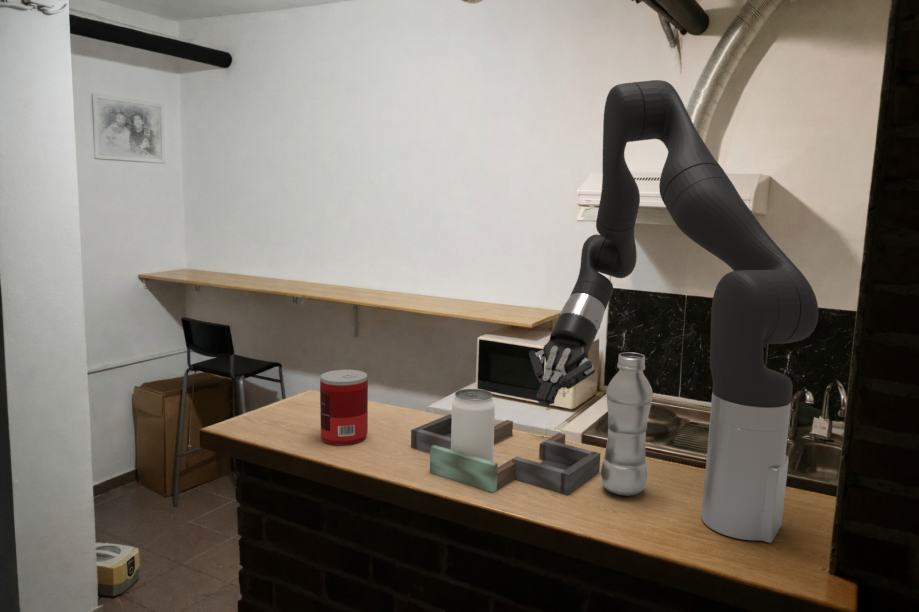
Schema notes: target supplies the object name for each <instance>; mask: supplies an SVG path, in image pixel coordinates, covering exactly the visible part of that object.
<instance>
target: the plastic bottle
mask: <svg viewBox="0 0 919 612" xmlns="http://www.w3.org/2000/svg"><path fill="white" fill-rule="evenodd" d="M616 365H617V367H616V368H617V369H618V372H616V374H615V375H614V376H612V379H611V380H610V382H608V385H607V387H606V403H607V404H606V405H607V407H606V408H607V438H606V439H607V440H606V447H605V454H604V457H603V460H602V464H601V465H602V466H601V469H600V475H601V483H602V484H603V486H604V488H605V490H607V491H608V492H609V493H613V494H615V495H619V496H635V495H636V496H637V495H639V494H640V493H641V492H642V491H643V490H644V489H645V487H646V484H647V481H648V466H647V465H648V464H647V461H646V437H647V436H646V435H647V432H646V431H647V429H648V420H649V417H650V416H649V415H650V410H651V406H652V401H653V395H654V393H653V388H652V386H651V384H650V381H649V380H648V378H647V377H646V376H645V373H644V371H646V356H645V355H644V354H642V353H639V352H630V351H629V352H621V353H619V354H618V362H617V364H616Z"/></svg>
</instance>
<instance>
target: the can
mask: <svg viewBox="0 0 919 612" xmlns="http://www.w3.org/2000/svg"><path fill="white" fill-rule="evenodd" d="M454 395H455V397H454V398H453V400H452V403H451V415H452V424H451V450H453V451H457V452H460V453H463V454H467V455H470V456H474V457H477V458H480V459H484V460H487V461H491V462H494V448H495V447H494V446H495V444H494V426H495V419H496V417H495V415H496V414H495V413H496V404H495V401H494V400H493V393H492V392H491V391H489V390H487V389H486V390H485V389H483V388H482V389H480V388H463V389H460V390H457V391H455V392H454Z"/></svg>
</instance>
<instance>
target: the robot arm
mask: <svg viewBox="0 0 919 612" xmlns="http://www.w3.org/2000/svg"><path fill="white" fill-rule="evenodd" d="M602 126H603V128H602V129H603V130H602V181H601V182H602V183H601V192H600V199H599V205H598V211H597V214H596V221H595V222H596V223H595V228H596V231H597V233H598V234H596V233H595V234H592V235H590V236H589V237H588V238H586V240H585V241H584V242H583V245H582V249H581V253H580V254H581V256H580V267H579V273H578V276H577V279H576V282H575V284H574V287H573V288H572V290H571V293H570V295H569V297H568V299H567V300H566V302H565V303H564V306H563V307H562V309H561V311H560V314H559V316H558V317H557V320H556V322H555V323H554V324H555V325H554V327H553V328H552V331H551V333H550V337H549V340H548V342H547V343H545V344H544V345H543V348H542V349H541V350H538V351H537V352H536V351H535V350H530V351H529V353H528V356H529V360H530V362H531V366H532V367H533V368H532V369H533V372H534V375H535V376H536V378H537V380H538V381H539V383H540V387H539V388H538V391H537V393H536V399H537V402H538V403H539V405H540V406H543V407H546V408H547V407H550V406H551V405H552V404H553V403H554V402H555V399H556V397H557V395H558V393H559V390H561V389H563V388H565V389H567V390H569V389H571V388H573V387H575V386H577V385H578V384H579V383H581V382H582V381H584V380H586V379H587V378H588V377H590V376H591V375H593V374H595V372H596V369H595V367H594V364H593V363H592V361H591V360H589V352H590V351H591V349H592V346H593V344H594V341H595V338H596V337H597V334H598V331H599V330H600V328H601V325H602V322H603V318H604V315H605V312H606V310H607V307H608V305H609V303H610V301H611V297H612V295H613V292H614V285H613V283H612V281H611V280H610V278H607V277H606V276H605V275H607V276H609V277H612V278H616V279H625V278H627V277H629V276H630V275H631V274H632V273H633V271H634V270H635V267H636V264H637V257H638V256H637V255H638V254H637V245H636V244H637V243H636V238H635V226H636V221H637V217H638V213H639V208H640V201H641V196H640V190H639V187H638V184H637V181H636V180H635V178H634V176H633V174H632V172H631V171H630V169H629V167H628V165H627V162H626V159H625V158H626V157H625V151H626V150H625V149H626V146H627V143H632V142H639V141H640V142H641V141H648V140H658V141H660V142H661V143H663V145H664V146H665V148H666V150H667V156H666V159H665V162H664V165H663V168H662V171H661V174H660V180H659V185H658V187H659V195H660V198H661V201H662V202H663V204H664V205H665V208H666V209H667V211H668V213H669V216H670V217H671V219H672V220H673V222H674V223H675V225H676V226H677V228H678V229H679V230H680V231H681V232H682V233H683V234H684V235H685V236H686V237H688V239H690V240H692V241H693V242H694V243H695V244H697V245H698V246H700V247H701V248H702V249H704V250H705V251H707V252H708V253H710V254H712V255H713V256H714V257H716V258H717V259H720V260H721V261H722V262H723V263H725V264H726V265H727V266H729V268H730V269H732V271H730V272H727V273H725V274H724V275H723V276H721V279H720V280H719V281H718V283H717V285H716V287H715V290H714V292H713V296H712V303H711V312H710V313H711V314H710V348H709V349H710V350H709V368H710V372H711V377H712V393H711V405H710V416H709V427H708V438H707V439H708V440H707V447H706V448H707V449H706V462H705V472H704V473H705V474H704V484H703V485H704V486H703V497H702V503H701V505H702V509H701V520H702V521H703V522H702V523H704V524H705V525H706V526H707V527H708V528H710V529H711V530H713V531H714V532H716V533H719V534H720V535H724V536H727V537H730V538H733V539H734V538H735V539H739V540H744V541H746V540H747V541H760V542H761V541H762V542H765V543H769V544H771V543H773V541H774V539H775V538H776V536H777V534H778V532H779V531H780V529H781V528H782V526H783V525H782V524H783V515H784V514H783V513H784V507H785V499H786V497H785V496H786V490H787V489H786V488H787V480H788V468H789V456H788V455H786V454H787V445H788V436H789V434H788V433H789V427H790V426H789V425H790V418H791V406H792V399H793V390H794V389H793V381H792V380H791V378H790V377H789V376H787V375H786V374H784V373H782V372H779V371H777V370H774V369H771V368H768V367H767V366H766V365H765V362H764V345H777V344H778V345H782V344H790V343H796V342H800V341H803V340H805V339H806V338H809V336H811V334H813V332H814V331H815V330H816V326H817V324H818V320H819V304H818V300H817V297H816V294H815V292H814V290H813V287H812V285H811V283H810V281H808V279H807V278H806V277H805V275H804V273H802V271H801V270H800V268H798V267H797V266H796V264H795V263H794V262H793V261H792V260H791V259H790V257H788V255H787V254H786V253H785V252H784V251H783V250H782V249H781V248H780V246H779V245H778V244H777V243H776V242H775V241H774V240H773V239H772V237H771V236H770V235H769V234H768V233H767V231H766V230H765V229H764V227H763V226H762V224H761V223H760V222H759V220H758V219H757V217H756V216H755V215H754V214H753V212H752V211H751V210H750V208H749V207H748V205H747V204H746V203H745V201H744V199H743V198H742V197H741V195H740V194H739V192H738V190H737V189H736V187H735V185H734V183H733V182H732V181H731V179H730V177H729V175H727V173H726V172H725V171H724V169H723V168H722V166H721V165H720V164H719V163H718V161H717V160H716V158H715V157H714V155H713V153H711V151H710V149H709V148H708V147H707V145H706V143H705V142H704V140H703V138H702V136H701V135H700V133H699V132H698V130H697V128H696V127H695V124H694V123H693V121H692V119H691V116H690V114H689V113H688V111H687V108H686V106H685V104H684V102H683V100H682V98H681V96H680V94H679V93H678V91H677V90H676V89H675V87H674V86H673V85H672V84H671V83H670V82H668V81H666V80H661V79H653V80H643V81H634V82H626V83H624V82H623V83H619V84H616V85H614V86H612V87H611V89H610V90H609V91H608V94H607V96H606V99H605V104H604V110H603V125H602ZM603 274H604V275H603ZM544 359H545V362H546V364H545V370H543V366H542V364H543V363H544Z"/></svg>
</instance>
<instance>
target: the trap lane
mask: <svg viewBox="0 0 919 612" xmlns="http://www.w3.org/2000/svg"><path fill="white" fill-rule="evenodd" d="M451 424H452V414H450V413H449V414H447V415H444V416H442V417H439V418H437V419H434V420H432V421H430V422H427V423H424V424H422V425H420V426H417V427H415V428H413V429H412V428H411V431H410V448H412V449H415V450H420V451H423V452H425V453H427V454H429V473H431V474H434V475H436V476H437V475H438V476H441V477H443V478H446V479H450V480H453V481H456V482H460V483H462V484H466V485H469V486H472V487H475V488H477V489H481V490H483V491H486V492H490V493H494V492H496V491H499V489H502V488H503V487H504V486H506V485H508V484H509V483H511V482H512V481H514V480H517V481H520V482H525V483H527V484H530V485H534V486H537V487H540V488H544V489H547V490H550V491H554V492H557V493H559V494H564V495H567V496H568V495H570V494H572V492H574V491H576V490H577V489H578V488H579V487H581V486H582V485H584V484H585V483H587V482H588V481H589V480H590V478H591V479H592V478H594V477H595V476H596V475H597V474H599V473H600V472H601V469H600V468H601V454H602V453H600V452H597V451H594V450H590V449H589V450H588V449H585V448H582V447H577V446H574V445H569V444H566V434H565V433H561V432H558V433H556V434H554V435H552V436H551V437H550V438H547V439H545V440H543V441H542V442H540V443H539V446H538V447H539V448H538V450H539V451H538V452H539V453H538V459H539V460H542V461H541V462H537V461H535V460H530V459H527V458H523V457H520V456H517V455H516V456H515V457H513V458H512V459H509V460H508V461H506V462H505V463H503V464H501V465H498V463H497V462H494V461H493V462H491V461H487V460H484V459H480V458H477V457H474V456H470V455H467V454H463V453H460V452H457V451H453V450H451ZM513 426H514V421H513V420H509V419H507V420H504V421H501V422H500V423H498V424H496V425H495V424H494V445H496V444H498V443H500V442H501V441H504V440H505V439H508V438H509V437H511V436H513V432H514V431H512V430H514V429H513V428H514V427H513ZM598 472H599V473H598ZM595 474H596V475H595ZM594 475H595V476H594Z"/></svg>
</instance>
